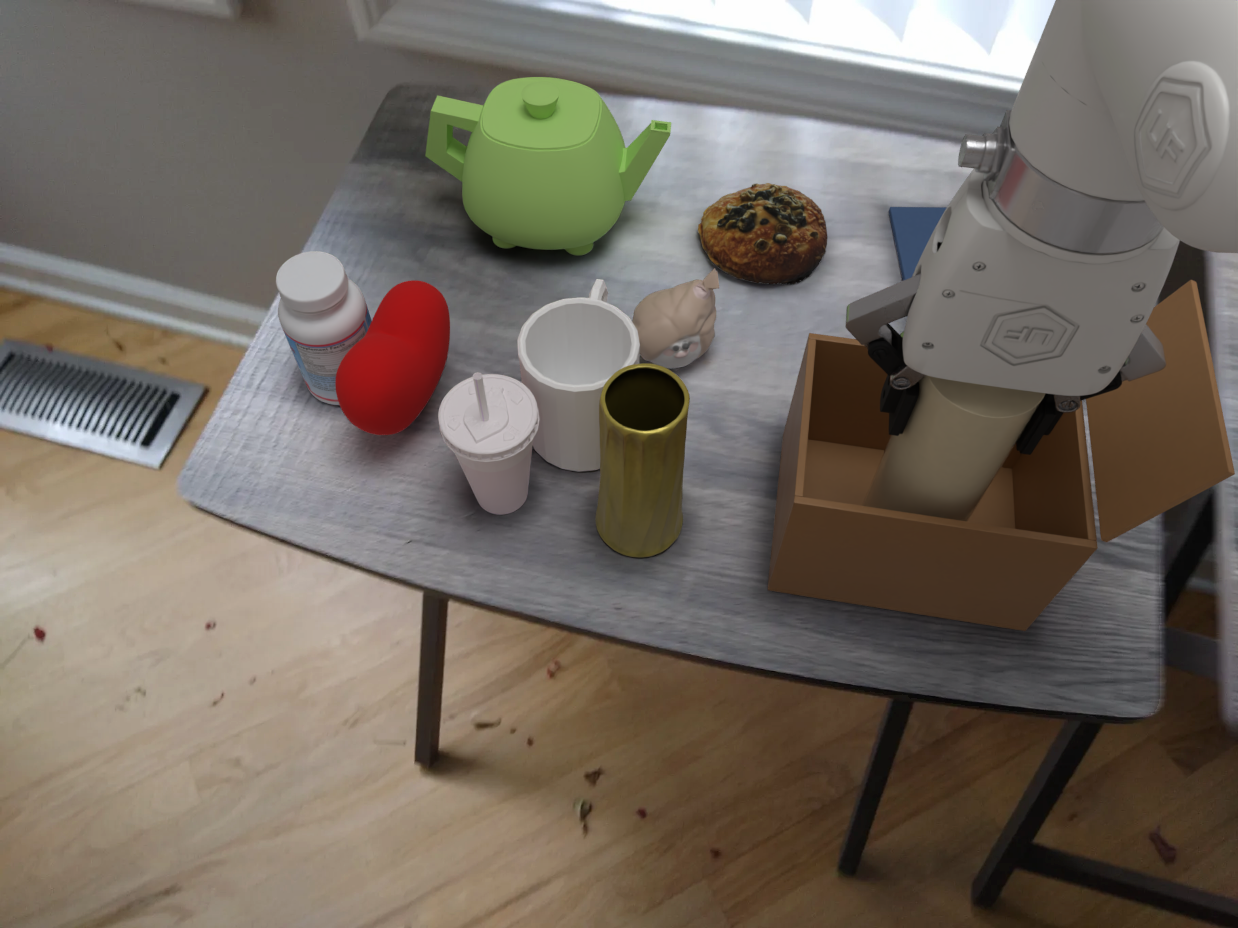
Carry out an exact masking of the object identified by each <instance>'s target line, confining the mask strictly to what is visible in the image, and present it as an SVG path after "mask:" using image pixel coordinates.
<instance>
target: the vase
mask: <svg viewBox="0 0 1238 928" xmlns="http://www.w3.org/2000/svg"><path fill="white" fill-rule="evenodd" d="M690 400H691V397H690V392H689V389H688V388H687V386H686V384H685V382H684V381H683V379H682V378H681V377H680V376H678V374H676V373H675V372H673V371H672V370H670V368H665V367H663V366H659V365H656V364H654V363H650V362H648V363H646V362H645V363H639V364H634V365H629V366H626V367H624V368H622V369H620V370H618V371H617V372H615V373H614V374H613V375H612V376H611V377H610V378H609V379H608V380H607V382H606V383H605V385H604V387H603V390H602V392H601V396H600V401H599V427H600V469H599V486H598V494H597V495H598V496H597V507H596V511H595V517H594V518H595V519H594V521H595V527H596V530H597V532H598V534H599V537H600V538H601V540H602V541H603V542H604V543H605V544H606V545H607V546H608V547H610V548H611V549H612V550H614V552H616V553H619V554H621V555H623V556H627V557H630V558H648V557H653V556H655V555H659V554H662V553H663V552H664V551H666V550H667V549H668V548H669V547H670V546H672V545H673V544H674V543H675V541H677V540H678V538H679V536H680V534H681V532H682V528H683V523H684V515H683V514H684V513H683V509H682V508H683V507H682V506H683V495H684V494H683V493H684V492H683V491H684V490H683V487H684V486H683V484H684V483H683V482H684V470H685V469H684V468H685V458H686V457H685V456H686V454H685V453H686V441H687V430H688V417H689V410H690V409H689V408H690V402H691V401H690Z"/></svg>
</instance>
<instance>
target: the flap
mask: <svg viewBox="0 0 1238 928" xmlns="http://www.w3.org/2000/svg"><path fill="white" fill-rule="evenodd" d="M1198 288H1199V287H1198V283H1197V281H1195V280H1193V279H1189V280H1188V281H1187V282H1186V283H1184V284H1183V285H1182V286H1180V287H1179V288H1178V289H1176V290H1175V291H1174V292H1172V293H1171V294H1169V295H1168V296H1167V297H1166V298H1164V299H1163V300H1162V301H1160V302H1159V303H1157V305H1155V306H1154V308H1153V310H1152V313H1151V315H1150V317H1149V319H1148V321H1147V323H1146V324H1147V326H1148V327H1149V328H1150V329H1151V331H1152V332H1153V333H1154V334H1155V336H1156V337H1157V338H1158V339H1159V341H1160V342H1161V343H1162V345H1163V349H1164V355H1165V361H1166V366H1165V368H1164V369H1162V370H1160V371H1158V372H1155V373H1152V374H1149V375H1147V376H1144V377H1141V378H1138V379H1135V380H1132V381H1128V380H1126V381H1123V382H1122V385H1121V386H1120V387H1119V388H1118V389H1115V390H1113V391H1110V392H1107V393H1103V394H1100V395H1097V396H1094V397H1091V398H1088V399H1085V406H1086V413H1087V423H1088V432H1089V442H1090V451H1091V460H1092V469H1093V479H1094V487H1095V497H1096V505H1097V515H1098V524H1099V526H1098V527H1099V534H1100V540H1101V541H1102V542H1104V543H1109V542H1110V541H1113V540H1114V539H1116V538H1118V537H1120V536H1122V535H1124V534H1126V533H1127V532H1129V531H1131V530H1133V529H1135V528H1137V527H1139V526H1141V525H1143V524H1144V523H1146V522H1148V521H1151V520H1152V519H1154V518H1156V517H1158V516H1160V515H1161V514H1163V513H1165V512H1167V511H1169V510H1171V509H1173V508H1175V507H1176V506H1178V505H1180V504H1182V503H1184V502H1186V501H1188V500H1190V499H1191V498H1193V497H1195V496H1197V495H1199V494H1200V493H1203V492H1204V491H1206V490H1208V489H1210V488H1212V487H1215V486H1216V485H1218V484H1220V483H1221V482H1224V481H1225V480H1228V479H1229V478H1231V477H1233V476H1234V475H1236V471H1235V467H1234V462H1233V458H1232V452H1231V446H1230V443H1229V438H1228V437H1229V436H1228V432H1227V427H1226V422H1225V417H1224V413H1223V412H1224V411H1223V407H1222V402H1221V398H1220V397H1221V396H1220V393H1219V387H1218V381H1217V378H1216V373H1215V368H1214V362H1213V357H1212V352H1211V348H1210V343H1209V338H1208V333H1207V332H1208V331H1207V327H1206V323H1205V318H1204V313H1203V309H1202V304H1201V303H1202V302H1201V299H1200V293H1199V289H1198Z"/></svg>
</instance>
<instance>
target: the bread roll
mask: <svg viewBox="0 0 1238 928" xmlns="http://www.w3.org/2000/svg"><path fill="white" fill-rule="evenodd" d="M697 233H698V235H699V238H700V243H701V247H702V250H704V252H705V253H706V255H707V257H708V258H709V260H710V261H711V262H712V263H713V264H714V265H715V266H716V267H717V268H718V269H719V270H720V271H722V272H723V273H726V274H727V275H729V276H731V277H733V278H734V279H737V280H741V281H742V280H743V281H746V282H751V283H754V284H763V285H767V284H768V285H786V286H787V285H795V284H796V283H797V284H799V283H801V282H803V281H804V280H806V278H809V277H810V276H811V275H812V274H813V272H815V270H816V269H817V267H818V266H819V265H820V263H821V262H822V260H823V258H824V256H825V254H826V252H827V246H828V229H827V222H826V219H825V216H824V213H823V211H822V209H821V208H820V207H819V205H818V204H817V203H816V202H815V201H814V200H813V199H812V198H810V197H809V196H807V195H806V194H804V193H802V192H801V190H797V189H794V188H791V187H789V186H787V185H778V184H776V183H770V182H765V183H753V184H751V186H748V187H747V188H746V187H745V188H743V189H740V190H738V191H735V192H732V193H727V194H725V195H722V196H721V197H720V198H719V199H718V200H716V201H715V202H714V203H712V204H710V205H709V206H708V207H706V208H705V209H704V211H703V212H702V217H701V218H700V223H699V224H697Z"/></svg>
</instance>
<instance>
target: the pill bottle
mask: <svg viewBox="0 0 1238 928" xmlns="http://www.w3.org/2000/svg"><path fill="white" fill-rule="evenodd" d="M275 285H276V288H277V290H278V293H279V294H278V295H279V297H280V299H279V302H278V306H277V318H278V321H279V324H280V326H281V328H282V331H283V333H284V335H285V336H284V337H285V339H286V341H287V343H288V345H289V348H290V349H291V350H290V351H291V352H292V355H293V358H294V359H295V362H296V365H297V368H298V369H299V371H300V375H301V377H302V379H303V380H304V381H303V382H304V384H305V385H306V387H307V389H308V391H309V393H310V394H311V395H312V396H313V397H314V398H315V399H317V400H319V401H320V402H322V403H325V404H328V405H332V406H333V405H334V406H340V405H339V402H338V399H337V394H336V386H335V381H336V373H337V370H338V367H339V365H340V363H341V361H342V360H343V358H344V356H345V355H346V354H347V353H348V351H349V350H350V349H351V348H352V347H353V346H354V345H355V344H356V343H357V342H359V341H360V340H361V339H362V338H364V336H365V335H366V333H367V331H368V329H369V326H370V324H371V322H372V316H371V314H370V311H369V307H368V305H367V301H366V298H365V296H364V294H363V292H362V290H361V288H360V287H359V285H358V284H356V283H355V282H354V281H353V280H351V278H349V277H348V275H347V273H346V269H345V267H344V265H343V263H342V262H341V260H339V258H338V257H337V256H335V255H333V254H331V253H328V252H325V251H321V250H311V251H304V252H300V253H298V254H295V255H293V256H292V257H289V258H288V259H287V260H286V261H284V262H283V264H282V265H280V267H279V268H278V271H277V273H276V277H275Z"/></svg>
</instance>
